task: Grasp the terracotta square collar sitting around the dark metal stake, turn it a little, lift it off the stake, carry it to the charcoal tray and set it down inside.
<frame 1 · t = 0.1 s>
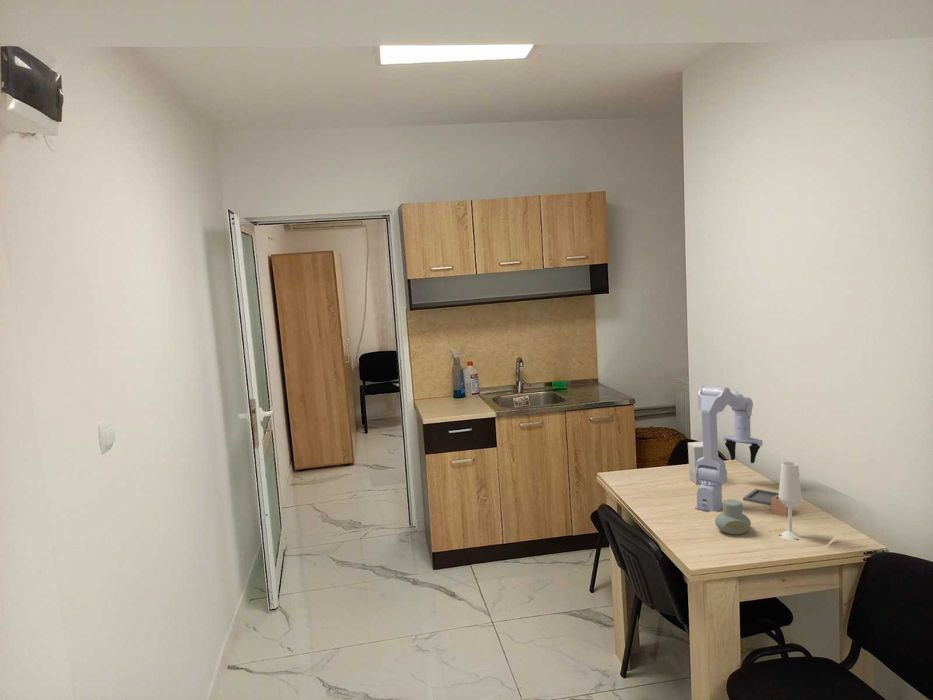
hand: (742, 461, 260), 10 cm above the table, tool pointing down, fingers open, 7 cm apart
skincare box: (699, 481, 270), on the table
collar: (781, 511, 232), point 1 cm above the table, touching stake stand
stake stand: (781, 513, 232), on the table
champagne flute: (790, 537, 213), on the table
tray: (766, 500, 245), on the table
air freshener: (732, 531, 220), on the table
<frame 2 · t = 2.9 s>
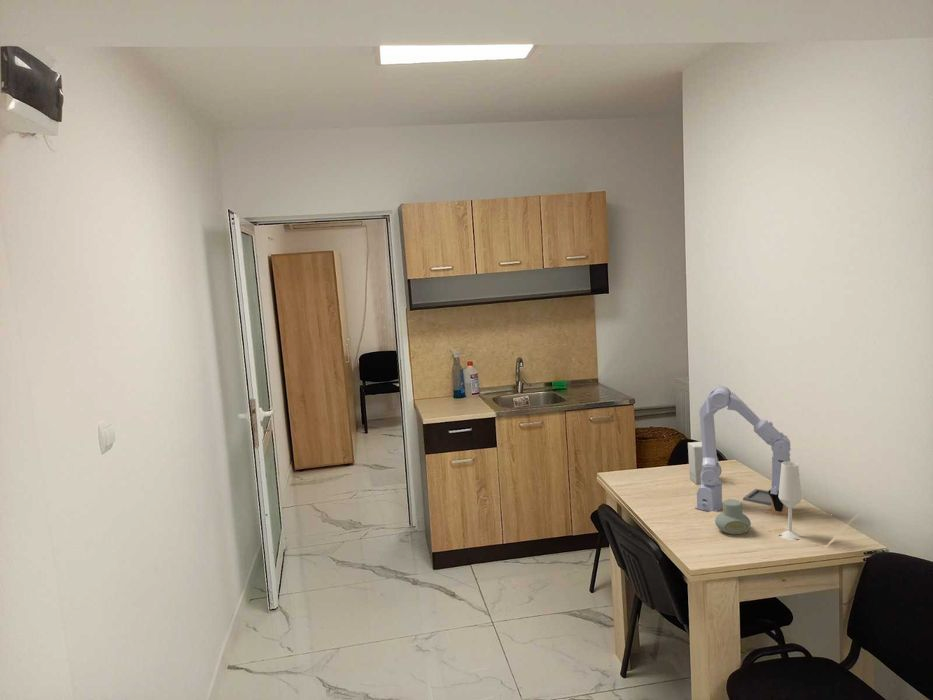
hand: (781, 508, 232), 2 cm above the table, tool pointing down, fingers closed on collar, 5 cm apart
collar: (781, 511, 232), point 1 cm above the table, touching gripper, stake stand
everything else where it was.
when the fingers open (3 cm above the table, at t = 6.6 s): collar drops 1 cm, resting on tray.
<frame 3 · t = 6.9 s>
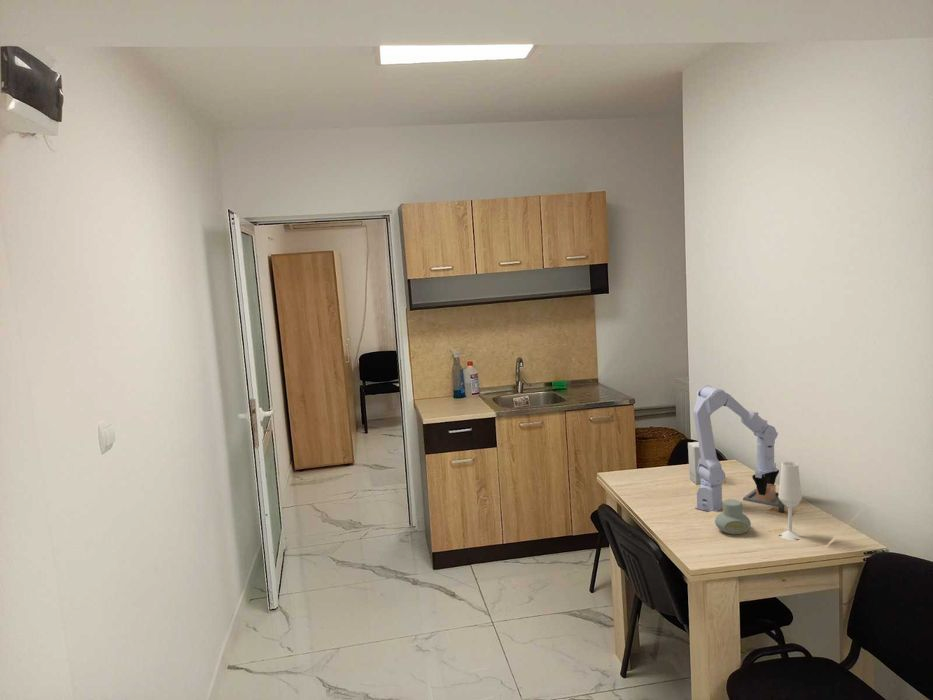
hand: (766, 491, 245), 3 cm above the table, tool pointing down, fingers open, 7 cm apart
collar: (766, 498, 245), point 1 cm above the table, touching tray
everything else where it was.
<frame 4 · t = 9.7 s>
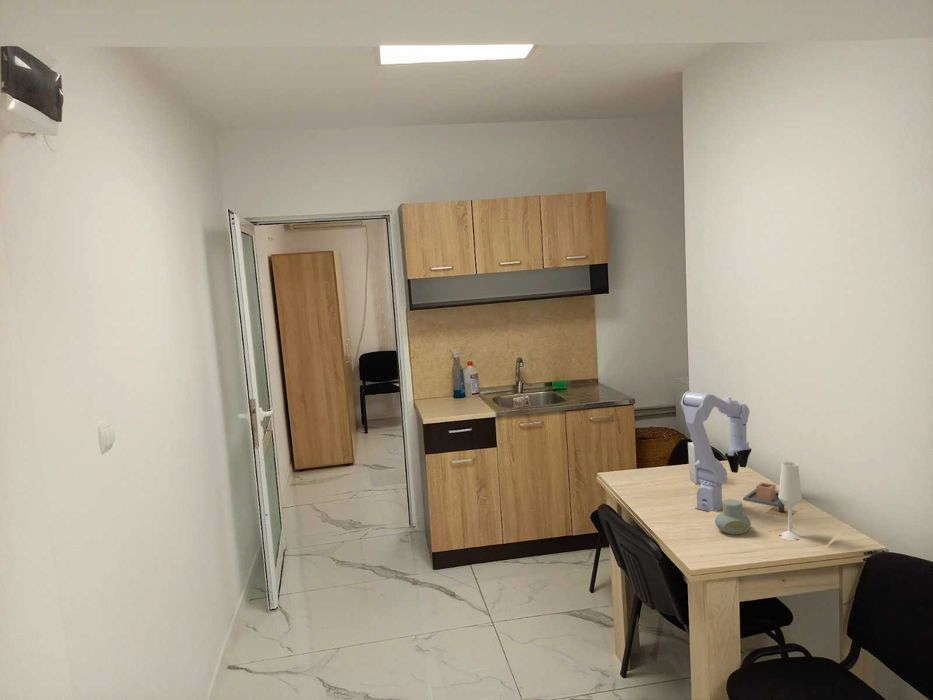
hand: (738, 469, 251), 10 cm above the table, tool pointing down, fingers open, 7 cm apart
nothing on the table moved.
at the end: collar inside the target area on the tray (0.1 cm from its centre), point 0.6 cm above the tray's base; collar tilted 0°; the gripper is holding nothing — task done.
